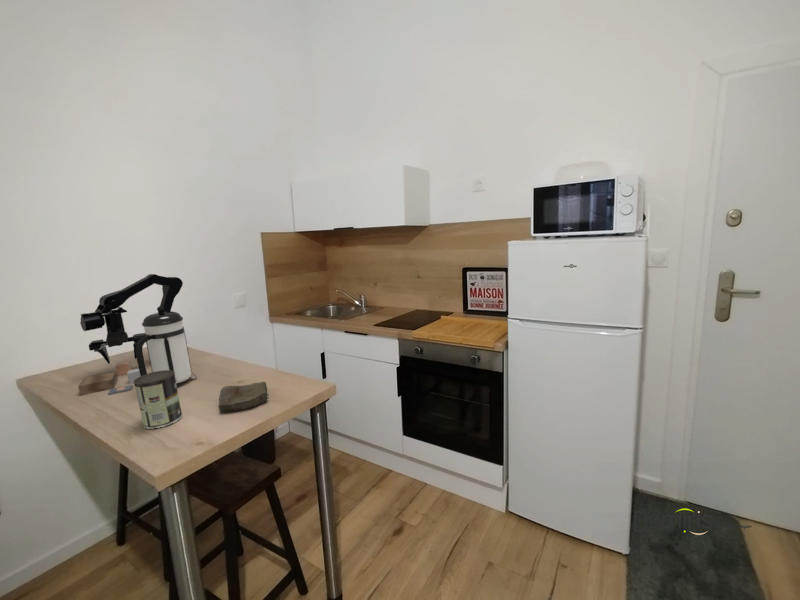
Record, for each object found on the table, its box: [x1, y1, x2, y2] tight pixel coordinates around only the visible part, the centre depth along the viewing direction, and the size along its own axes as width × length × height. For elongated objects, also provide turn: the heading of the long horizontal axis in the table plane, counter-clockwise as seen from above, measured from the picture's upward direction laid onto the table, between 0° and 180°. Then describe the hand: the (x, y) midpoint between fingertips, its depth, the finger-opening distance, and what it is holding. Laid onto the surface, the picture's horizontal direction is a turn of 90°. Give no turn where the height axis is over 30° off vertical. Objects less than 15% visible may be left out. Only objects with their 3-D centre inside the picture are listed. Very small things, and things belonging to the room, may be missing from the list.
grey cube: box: [126, 368, 141, 385], centre depth 150 cm, size 4×4×4 cm
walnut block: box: [77, 371, 119, 396], centre depth 145 cm, size 10×10×4 cm
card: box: [107, 384, 134, 396], centre depth 141 cm, size 7×5×1 cm
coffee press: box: [136, 305, 197, 386], centre depth 140 cm, size 17×16×30 cm
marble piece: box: [218, 381, 269, 414], centre depth 124 cm, size 17×15×4 cm
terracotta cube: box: [115, 360, 133, 377], centre depth 160 cm, size 4×4×4 cm
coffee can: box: [133, 370, 183, 430], centre depth 113 cm, size 10×10×14 cm
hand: (122, 361), depth 160 cm, fingers open, 9 cm apart
